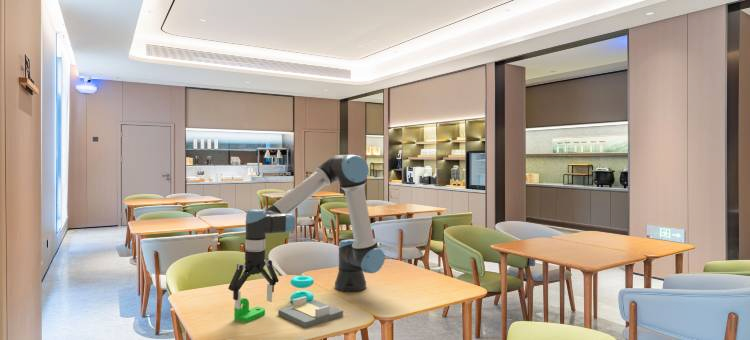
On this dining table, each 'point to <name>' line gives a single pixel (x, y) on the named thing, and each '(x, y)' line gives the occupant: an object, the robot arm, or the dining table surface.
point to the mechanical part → (247, 312)
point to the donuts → (302, 283)
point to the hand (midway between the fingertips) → (253, 304)
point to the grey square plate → (309, 312)
